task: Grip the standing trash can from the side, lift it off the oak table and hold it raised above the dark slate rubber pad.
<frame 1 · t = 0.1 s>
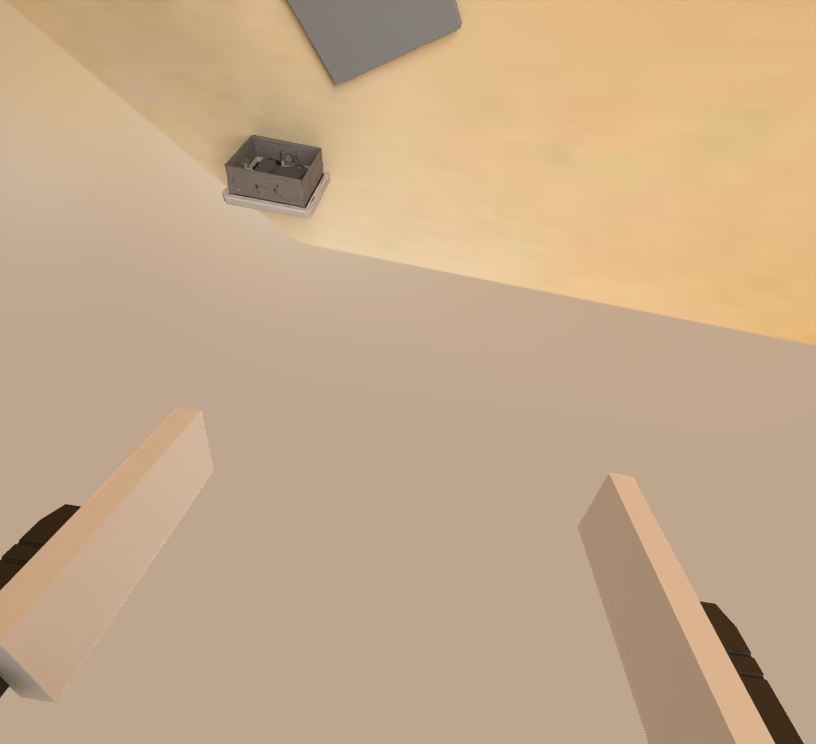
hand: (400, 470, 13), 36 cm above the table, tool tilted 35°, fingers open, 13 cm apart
electrical switch: (287, 148, 44), on the table
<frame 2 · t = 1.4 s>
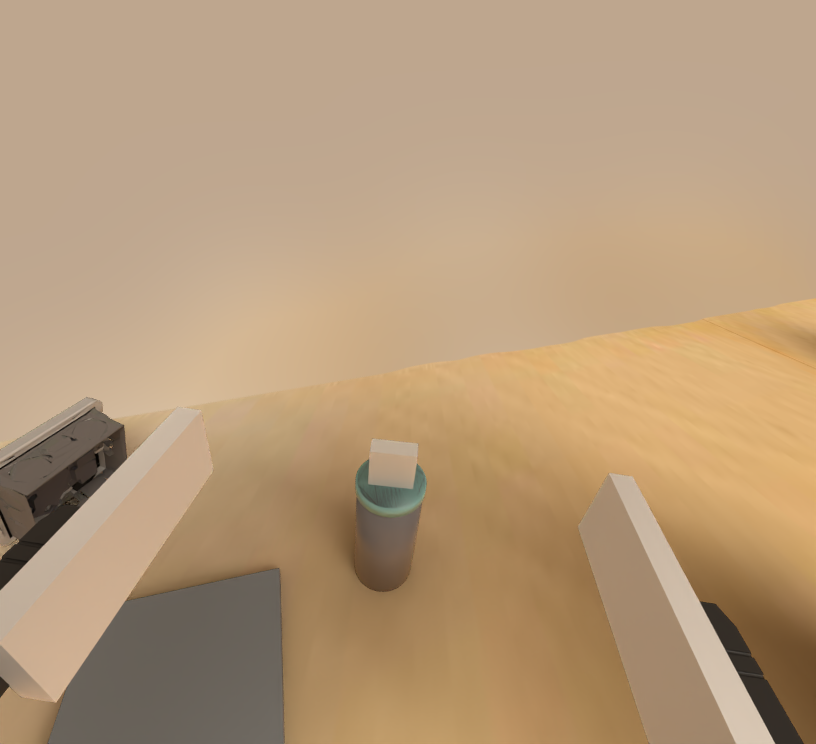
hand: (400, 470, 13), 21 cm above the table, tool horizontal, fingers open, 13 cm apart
trash can: (383, 562, 32), on the table
pad: (180, 689, 24), on the table
electrical switch: (84, 507, 34), on the table
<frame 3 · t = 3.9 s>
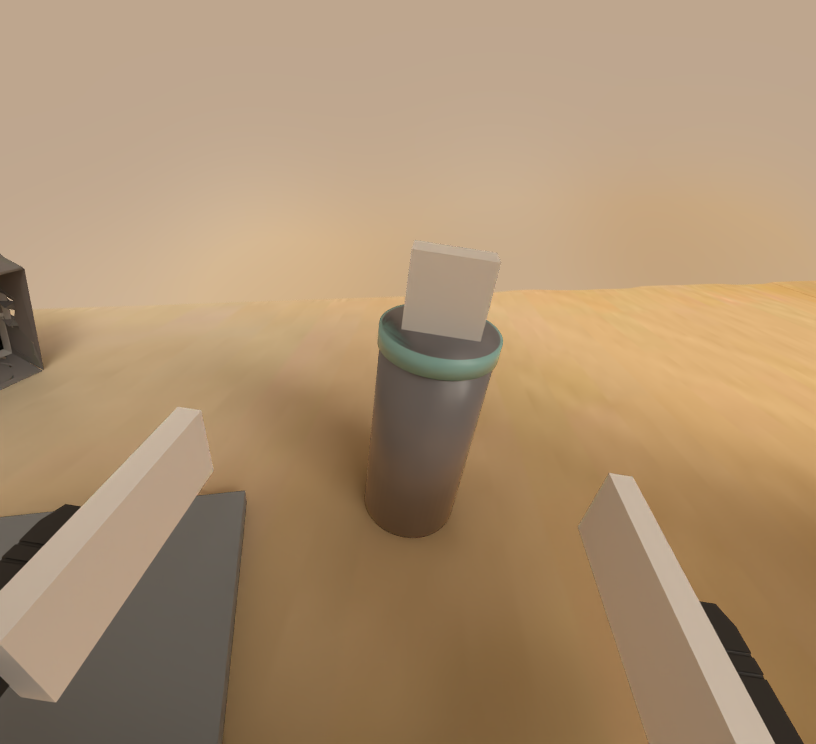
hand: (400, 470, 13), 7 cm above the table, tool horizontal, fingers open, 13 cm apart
trash can: (408, 498, 20), on the table
pad: (32, 676, 13), on the table
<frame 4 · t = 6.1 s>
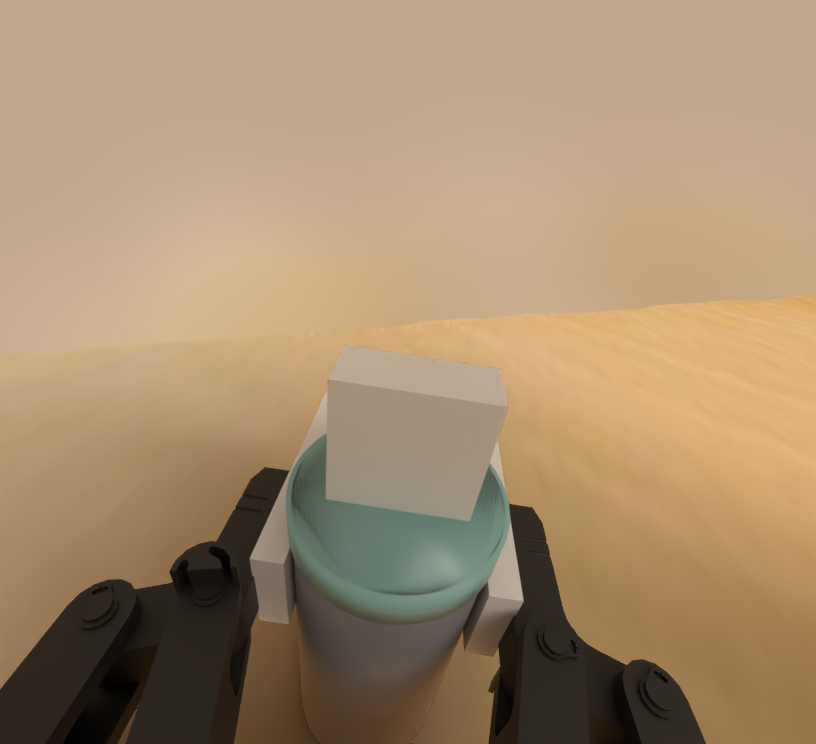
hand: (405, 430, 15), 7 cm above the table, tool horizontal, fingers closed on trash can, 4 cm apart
trash can: (368, 676, 14), on the table, touching gripper
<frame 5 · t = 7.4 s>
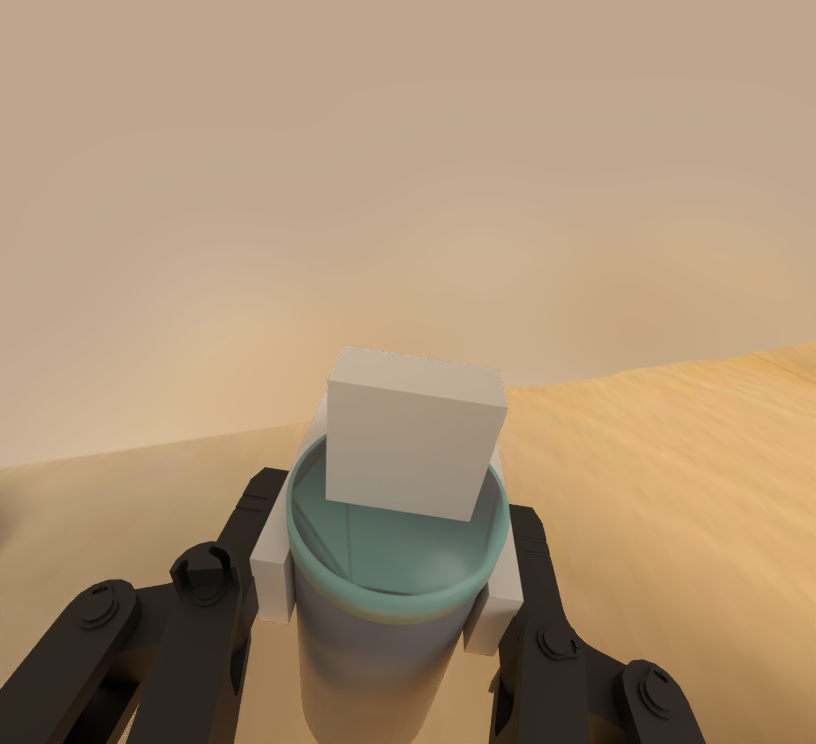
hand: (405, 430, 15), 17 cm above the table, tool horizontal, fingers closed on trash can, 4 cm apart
trash can: (368, 676, 14), point 10 cm above the table, touching gripper
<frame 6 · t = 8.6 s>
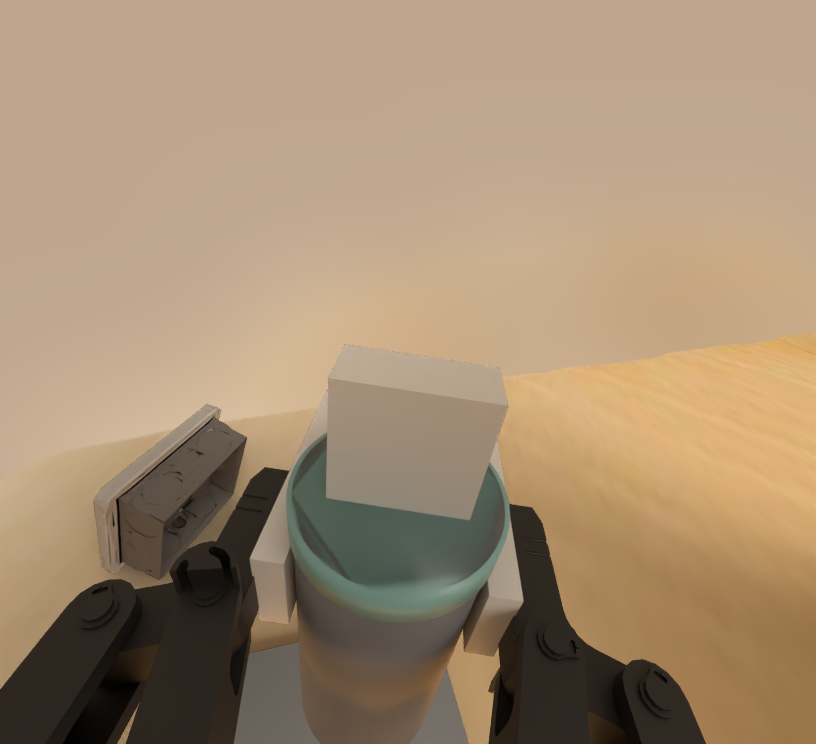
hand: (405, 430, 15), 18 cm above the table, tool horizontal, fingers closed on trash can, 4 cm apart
trash can: (368, 675, 14), point 11 cm above the table, touching gripper
electrical switch: (191, 528, 30), on the table
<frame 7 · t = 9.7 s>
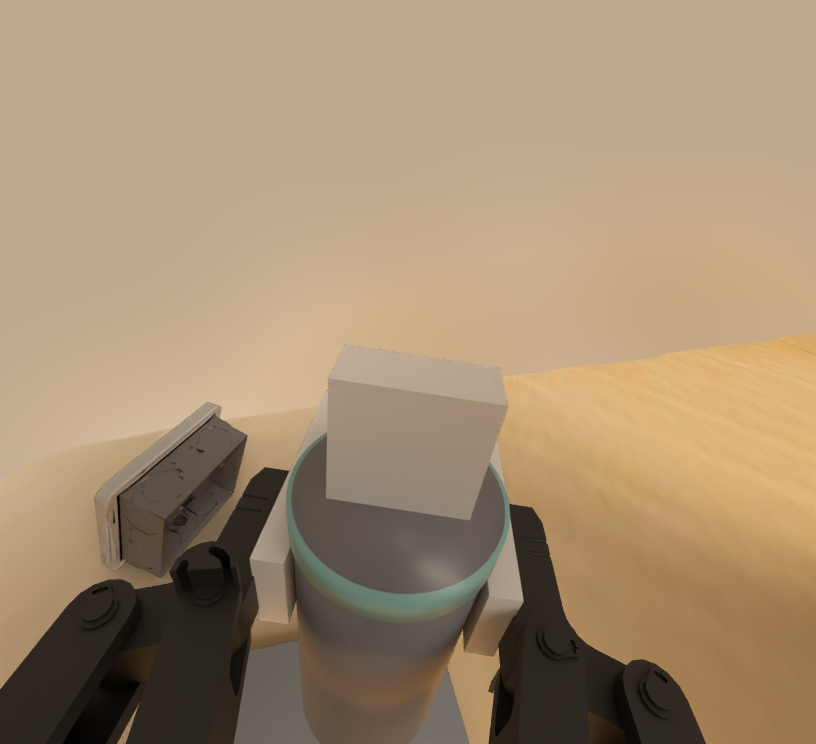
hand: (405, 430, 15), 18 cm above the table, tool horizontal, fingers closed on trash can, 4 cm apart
trash can: (368, 675, 14), point 11 cm above the table, touching gripper
electrical switch: (191, 526, 30), on the table
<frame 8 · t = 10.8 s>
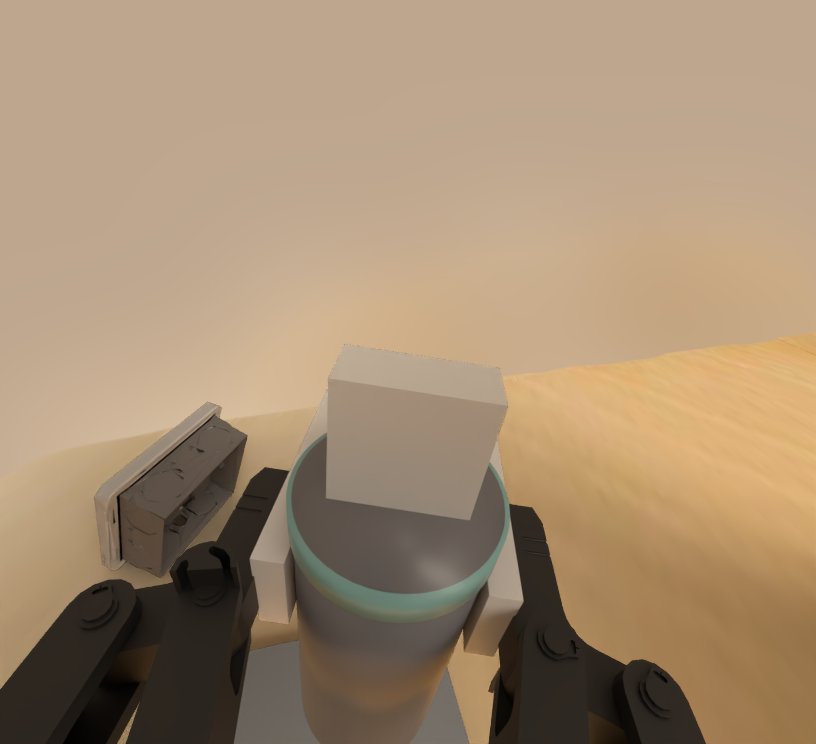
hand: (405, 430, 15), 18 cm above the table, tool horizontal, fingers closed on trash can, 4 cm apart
trash can: (368, 675, 14), point 11 cm above the table, touching gripper
electrical switch: (191, 526, 30), on the table
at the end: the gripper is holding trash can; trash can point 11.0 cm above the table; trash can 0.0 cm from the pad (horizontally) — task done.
